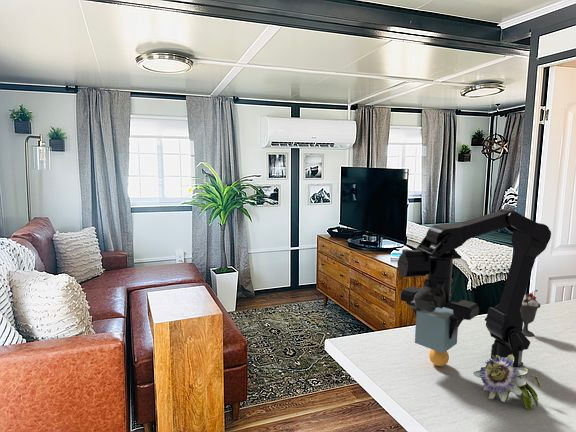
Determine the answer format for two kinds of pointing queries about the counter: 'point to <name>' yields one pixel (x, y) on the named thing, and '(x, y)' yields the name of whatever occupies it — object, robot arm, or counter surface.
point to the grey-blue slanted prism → (434, 329)
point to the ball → (438, 358)
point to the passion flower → (506, 380)
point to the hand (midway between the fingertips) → (435, 333)
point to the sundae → (528, 312)
